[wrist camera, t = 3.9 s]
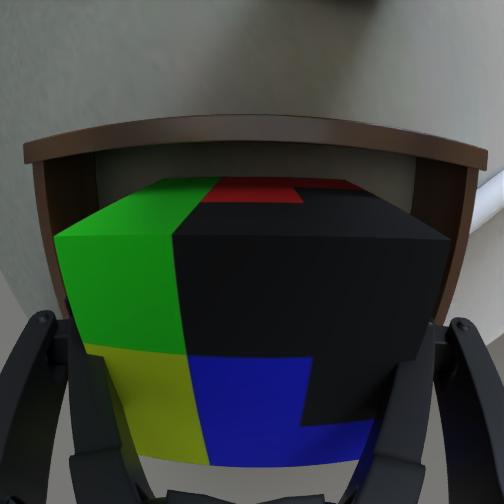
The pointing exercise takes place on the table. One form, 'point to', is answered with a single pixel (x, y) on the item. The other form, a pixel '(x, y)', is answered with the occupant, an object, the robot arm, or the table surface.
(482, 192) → the marker
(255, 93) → the table surface
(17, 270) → the table surface
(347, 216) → the puzzle toy
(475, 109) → the table surface
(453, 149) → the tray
